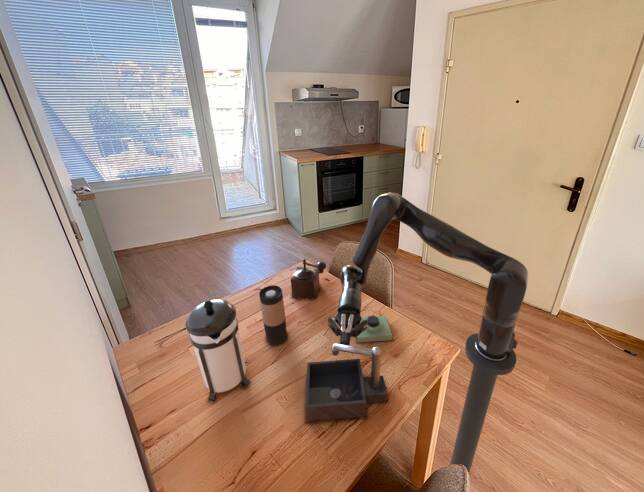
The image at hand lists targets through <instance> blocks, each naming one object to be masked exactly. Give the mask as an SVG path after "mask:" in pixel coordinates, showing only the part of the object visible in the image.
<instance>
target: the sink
mask: <svg viewBox="0 0 644 492" xmlns="http://www.w3.org/2000/svg"><path fill="white" fill-rule="evenodd" d="M306 365H307V366H306V369H307V370H306V386H305V387H306V388H305V417H306V423H317V422H328V421H339V420H350V419H362V418H363V419H364V418H367V404H369V403H370V404H371V403H380V402H387V401H388V391H387V386H386V383H385V379H384V375H380V377H379V387H378V388H373V387H372V386H371V375H370V376H363V370H362V363H361V358H350V359H337V360H335V359H334V360H323V361H310V362H309V361H308V362H307V363H306Z"/></svg>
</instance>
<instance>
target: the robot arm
mask: <svg viewBox="0 0 644 492" xmlns="http://www.w3.org/2000/svg"><path fill="white" fill-rule="evenodd" d="M394 220H396V221H398V222H400V223H403V224H404V225H406V226H407V227H409V228H410V229H412V230H413V231H414V232H415V234H416V235H418V237H419V238H420V239H421V240H422V241H423V242H424V243H425V244H426V245H427V246H429V247H430V248H432V249H433V250H435V251H437V252H438V253H440V254H441V255H443V256H445V257H447V258H451V259H454V260H458V261H464V262H468V263H472V264H474V265H476V266H478V267H479V268H482V269H483V270H485V271H486V272H488V273H489V274H491V275H490V278H489V282H488V287H487V290H486V295H485V302H484V306H483V311H482V315H481V320H480V323H479V328H478V332H477V333H478V336H477V341H476V343H475V348H476V351H477V352H478V353H479V355H481V356H482V357H483V358H485V359H487V360H489V361H493V362H501V361H503V360H505V358H506V357H509V354H510V351H511V349H513V350H514V349H517V346H518V341H517V340H516V338H515V337H516V334H515V331H514V330H515V327H516V324H517V321H518V317H519V313H520V312H521V309H522V306H523V302H524V299H525V296H526V293H527V288H528V281H529V270H528V268H527V267H526V265H525V264H524V263H522V262H521V261H520V260H518V259H516V258H514V257H512V256H510V255H509V254H508V255H507V254H505V253H503V252H501V251H499V250H497V249H494V248H492V247H490V246H488V245H486V244H484V243H483V242H480V241H479V240H478V239H476V238H475V237H472V236H470V235H468V234H466V233H465V232H463V231H462V230H460V229H458V228H456V227H455V226H454V225H451V224H450V223H448V222H445V220H442V219H440V218H438V217H436V216H435V215H433V214H430V213H429V212H427V211H425V210H423V209H421V208H420V207H418V206H416V205H415V204H413V203H412V202H411V201H409V200H408V199H406V198H405V197H403V196H402V195H401V194H399V193H397V192H392V191H390V192H385V193H383V194H380V195H378V196H377V197H376V198H375V200H373V203H372V206H371V209H370V213H369V217H368V220H367V223H366V227H365V229H364V232H363V234H362V236H361V239H360V241H359V243H358V245H357V247H356V250H355V252H354V254H353V256H352V258H351V260H352V263H353V264H354V265H355V266H353V265H351V264H346V265H344V266H343V267H342V268H341V270H340V273H339V280H340V284H341V293H340V297H339V301H338V306H337V310H336V314H335V315H334V317H327V326H328V327H329V329H330V330H331V331H332V333H333V334H334V335H335V336H336V337H339V344H342V345H348V346H351V338H352V337H353V338H357V336H358V335H359V334H361V333H362V332H363V331H364V330H366V329H367V324H368V323H367V320H362V317H363V316H361V312H362V291H363V287H364V286H365V285H366V284H367V281H368V277H369V276H368V275H369V269H370V266H371V264H372V262H373V260H374V258H375V256H376V254H377V252H378V249H379V245H380V241H381V238H382V235H383V233H384V231H385V230H386V228H387V227H388V225H389V224H390V223H391V222H392V221H394ZM357 325H358V326H357Z"/></svg>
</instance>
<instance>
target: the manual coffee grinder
mask: <svg viewBox="0 0 644 492" xmlns="http://www.w3.org/2000/svg"><path fill="white" fill-rule="evenodd" d="M302 265H303V266H297V267H296V268H295V270H294V272H293V274H292V276H291V277H290V286H291V295H292V296H291V297H292V298H294V299H301V300H315V299H316V298H317V296H318V293H319V291H320V286H321V284H320V283H321V282H320V274H324V270H325V269H326V268H327V264H326V262H324V261H321V260H320V261H318V262H317V264H313V263H309V262H307V259H306V258H303V259H302ZM307 266H309V267H307Z"/></svg>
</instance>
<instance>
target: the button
mask: <svg viewBox="0 0 644 492" xmlns="http://www.w3.org/2000/svg"><path fill="white" fill-rule="evenodd" d="M376 316H377V315H369V317H368V316H367V317H368V322H367V323H368V325H369V326H370V327H376V326H378V323H379V319H378V318H377V317H376Z"/></svg>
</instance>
